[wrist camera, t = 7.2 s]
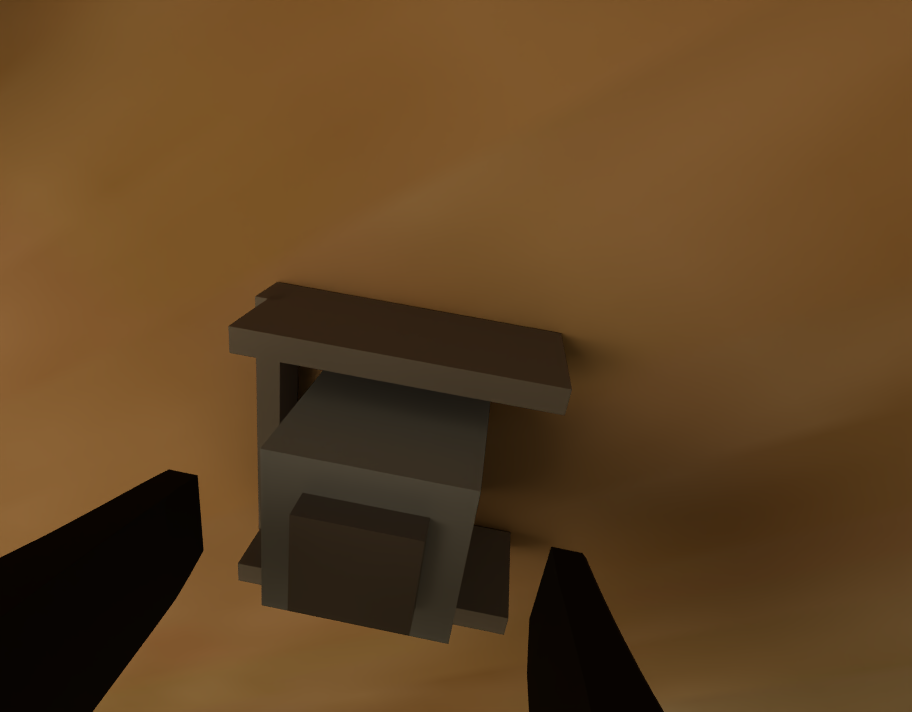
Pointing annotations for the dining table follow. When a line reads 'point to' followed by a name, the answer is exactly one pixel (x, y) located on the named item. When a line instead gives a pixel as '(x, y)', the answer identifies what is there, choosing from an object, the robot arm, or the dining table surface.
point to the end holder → (405, 363)
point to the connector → (372, 504)
